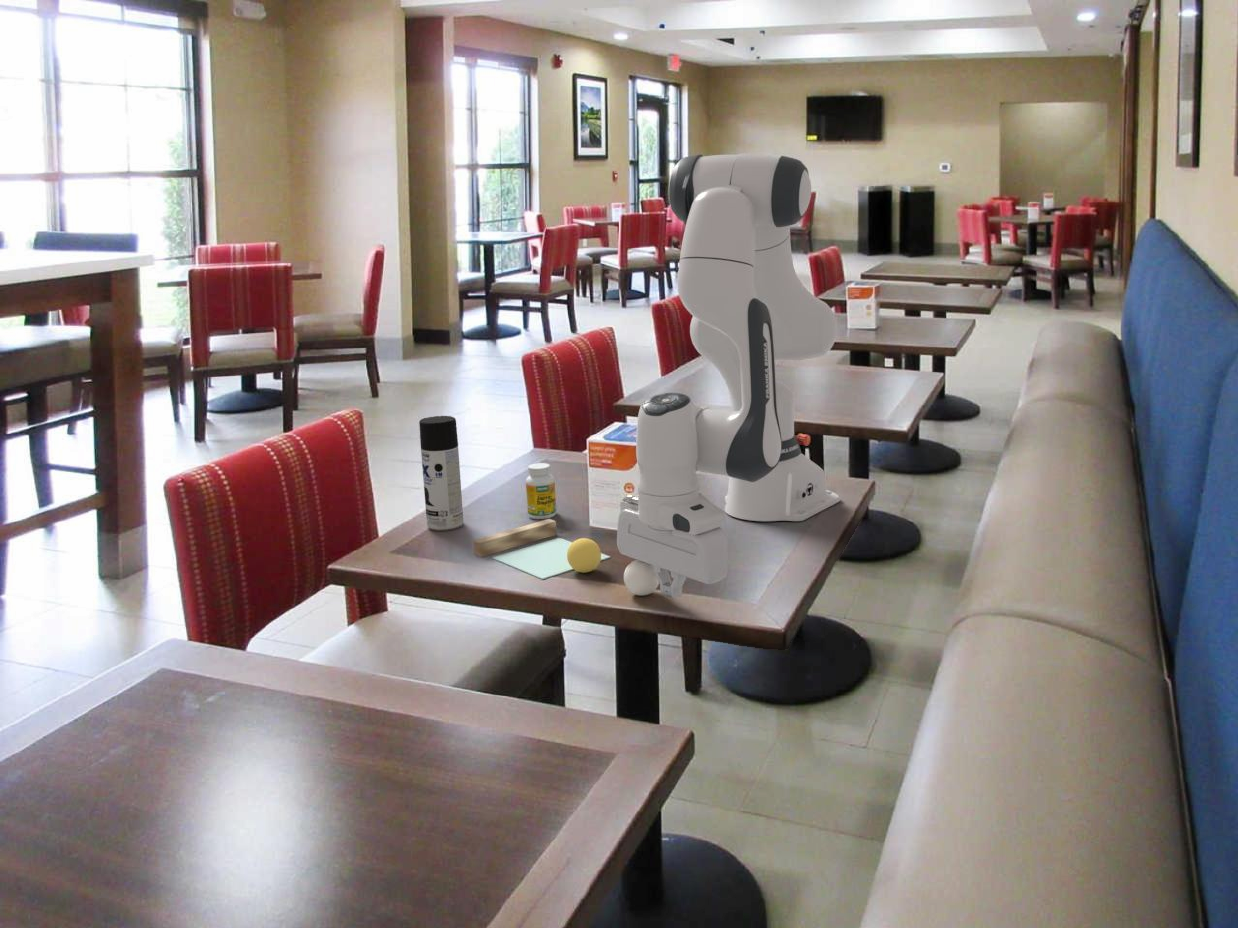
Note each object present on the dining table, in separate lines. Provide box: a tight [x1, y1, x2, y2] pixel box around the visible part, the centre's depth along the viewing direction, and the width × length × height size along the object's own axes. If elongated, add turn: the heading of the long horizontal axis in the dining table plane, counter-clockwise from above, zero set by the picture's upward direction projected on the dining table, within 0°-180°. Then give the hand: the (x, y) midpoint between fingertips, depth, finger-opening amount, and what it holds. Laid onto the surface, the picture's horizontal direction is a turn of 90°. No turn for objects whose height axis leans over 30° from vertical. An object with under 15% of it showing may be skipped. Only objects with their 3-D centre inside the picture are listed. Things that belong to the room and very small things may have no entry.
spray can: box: [418, 415, 464, 532], centre depth 210 cm, size 7×7×20 cm
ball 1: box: [567, 537, 602, 574], centre depth 186 cm, size 6×6×6 cm
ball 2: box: [623, 559, 660, 597], centre depth 176 cm, size 6×6×6 cm
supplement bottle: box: [525, 462, 557, 520], centre depth 215 cm, size 5×5×10 cm
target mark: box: [492, 537, 611, 581], centre depth 194 cm, size 14×14×1 cm
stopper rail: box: [472, 518, 558, 558], centre depth 201 cm, size 16×2×2 cm, turn 130°
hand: (671, 595), depth 172 cm, fingers closed
